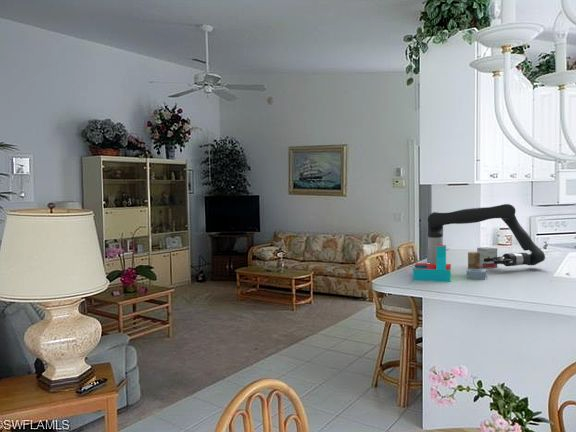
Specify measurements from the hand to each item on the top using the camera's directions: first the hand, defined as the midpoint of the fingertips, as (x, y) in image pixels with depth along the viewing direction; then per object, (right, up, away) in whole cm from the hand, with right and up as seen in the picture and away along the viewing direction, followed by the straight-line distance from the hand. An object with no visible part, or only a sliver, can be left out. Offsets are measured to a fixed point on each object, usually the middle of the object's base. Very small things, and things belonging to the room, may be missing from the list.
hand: (489, 261), depth 271 cm
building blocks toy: (-35, -8, -9) cm, 37 cm away
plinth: (-13, -8, -14) cm, 21 cm away
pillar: (-10, -7, -3) cm, 12 cm away
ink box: (+7, -5, +20) cm, 22 cm away
